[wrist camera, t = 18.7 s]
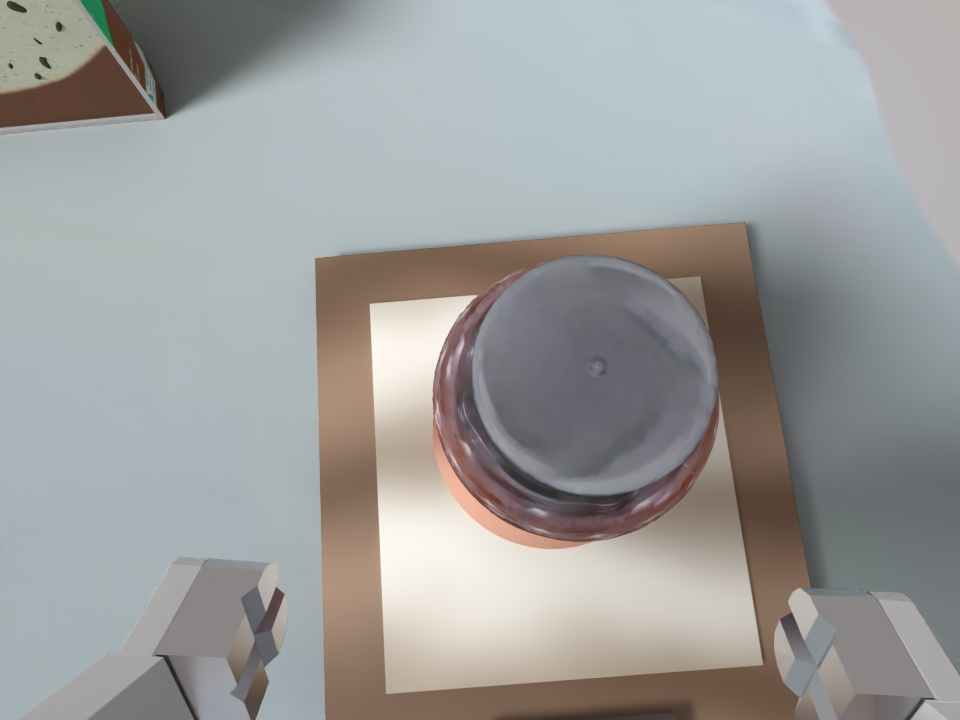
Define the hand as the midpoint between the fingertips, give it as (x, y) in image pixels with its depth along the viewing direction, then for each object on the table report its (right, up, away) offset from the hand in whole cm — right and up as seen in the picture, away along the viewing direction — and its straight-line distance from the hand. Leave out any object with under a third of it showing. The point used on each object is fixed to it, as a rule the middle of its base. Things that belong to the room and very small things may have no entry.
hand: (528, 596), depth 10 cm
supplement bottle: (+1, +1, +11) cm, 11 cm away
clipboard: (+2, -1, +12) cm, 12 cm away
